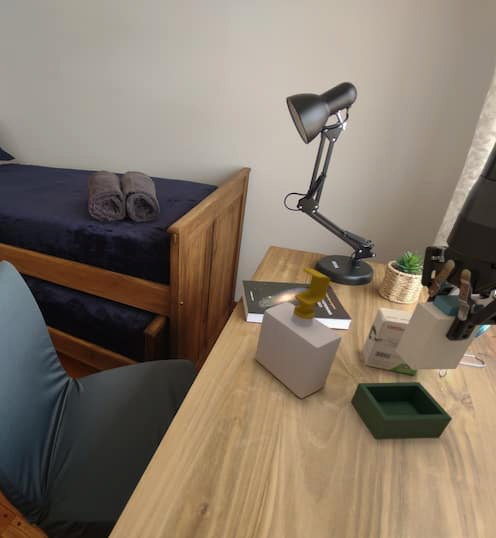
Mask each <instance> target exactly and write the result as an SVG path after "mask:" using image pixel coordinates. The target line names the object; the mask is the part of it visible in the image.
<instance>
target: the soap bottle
mask: <svg viewBox="0 0 496 538" xmlns="http://www.w3.org/2000/svg"><path fill="white" fill-rule="evenodd" d="M302 271H303V272H304V273H306V274H309V275H310V276H311V279H310V284H309V287H308V288H307V289H306V290H304V291H302V292H299V293H297V294H295V295H294V298H295V300H298V305H295V304H294V303H292V302H289V301H285V302H282V303H280V304H277V305H275V306H272V307H269V308H267V309H265V310H264V312H263V316H262V320H261V321H262V322H261V325H260V331H259V334H258V339H257V345H256V350H255V355H254V358H255V360H256V361H257V362H258V363H259V364H261V365H262V366H263V367H264V368H265V369H266V370H267V371H268V372H269V373H270V374H272V375H273V376H274V377H275V378H276V379H277V380H279V382H281V383H282V385H284V386H285V387H287V389H288V390H289V391H291V392H292V393H293V394H294V395H295V396H297V397H298V398H300V399H304V398H306V397H307V396H309V395H311V394H313V393H315V392H317V391H318V390H321V389H322V388H323V387H325V385H326V383H327V380H328V377H329V375H330V372H331V369H332V367H333V363H334V361H335V358H336V355H337V352H338V349H339V347H340V344H341V340H342V336H341V335H340V334H339V333H338V332H336V331H335V330H333V329H332V328H330V327H329V326H327V325H325V324H324V323H323V322H322V321H320V320H318V319H317V318H315V315H316V311H315V309H314V308H315V306H316V304H317V303H320V302H322V301H324V299H325V298H326V296H327V293H328V290H329V286H330V284H331V278H330V277H329V276H327V275H326V274H323V273H321V272H320V271H318V270H315V269H313V268H303V269H302Z"/></svg>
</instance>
